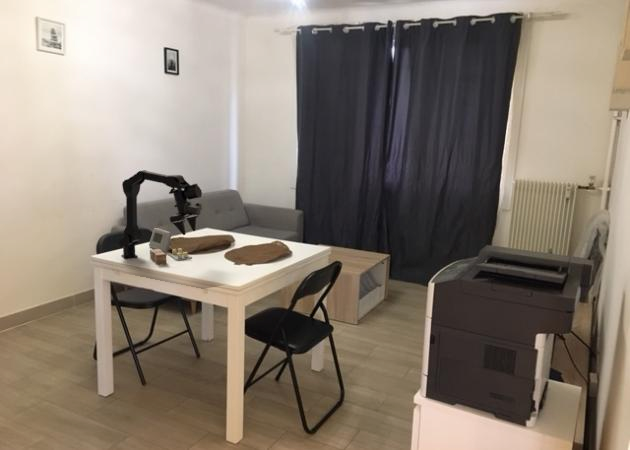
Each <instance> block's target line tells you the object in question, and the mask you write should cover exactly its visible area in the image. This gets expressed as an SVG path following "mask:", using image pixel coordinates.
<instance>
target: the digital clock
mask: <svg viewBox="0 0 630 450" xmlns="http://www.w3.org/2000/svg"><path fill="white" fill-rule="evenodd" d="M151 233H152V234H151V237H150V240H149V243H148V246H149V248H152V249H160V250H161V251H163V252H164V253H166V252H167V251H169V250H168V247H169V246H171V245H173V244H172V241H171V239H172V236H173V235H172V232H170V231H168V230H166V229H162V228H158V227H154V228H153V230H152V232H151Z"/></svg>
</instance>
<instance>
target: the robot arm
mask: <svg viewBox="0 0 630 450" xmlns="http://www.w3.org/2000/svg"><path fill="white" fill-rule="evenodd" d="M145 181H150V182H156V183H161V184H162V185H163V184H164V185H165V186H167V187H169V188H171V189H170V191H169V192H168V194H169V195H171V194H173V198H174V201H175V204H174V208H176V210H177V213H176V214H175V215H172V216H169V222H170V223H172V225H174V226H175V227H176V229H177V230H178V231H179V232H180V233H181V234H182V236H185V235H186V228H185V222H186V221H187V222H188V224H189V226H190V229H191V230H192V231H193V232H196V229H197V228H196V227H197V226H196V225H197V219H198V218H199V217H200V215H201V210H203V207H202V204H201V203H200V202H197V203H195V204H192V203H191V201H188V200H196V199H201V197H202V196H203V192H202V189H201V187H200V186H199V185H198V183H193V184H192V185H191V184H189V182H188V181H186V179H185V178H184V176H182V175H181V174H161V173H158V172H154V171H153V172H152V171H148V170H138V172H136V173H135V174H133V175H132V176H130V177H129V178H126V179H124V181H122V185H121V187H122V191H123V194H124V195H125V200H126V201H125V202H126V207H125V208H126V225H125V228H124V229H123V233H122V234H123V235H122V238H121V239H120V240H119V241H118V245H119V247H122V253H123V254H121V257H122V258H123V259H132V258H138V255H137V254H136V244H139V241H140V240H141V237H142V236H143V235H142V228H141V227H139V226H138V195H139V192H140V190H141V185H142V184H144V182H145ZM185 219H186V220H185Z"/></svg>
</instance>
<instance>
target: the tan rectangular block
mask: <svg viewBox="0 0 630 450" xmlns="http://www.w3.org/2000/svg"><path fill="white" fill-rule="evenodd" d="M149 259H150V260H151V261H152V262H153V263H154V262H155V265H157V266H160V264H161V265H166V264H167V254H166V252H163V251H161V250H160V249H153V248H152V249H150V250H149Z"/></svg>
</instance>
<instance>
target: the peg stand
mask: <svg viewBox="0 0 630 450" xmlns="http://www.w3.org/2000/svg"><path fill="white" fill-rule="evenodd" d="M171 252H172V253H168V256H169V257H171V258H172V259H174V260H175V261H184V260H190V259H191V260H192V257H191V256H190V255H189V254H188V252H187V251H183V248H177V249H176V248H173V249H172V250H171ZM182 252H183V253H182Z"/></svg>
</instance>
